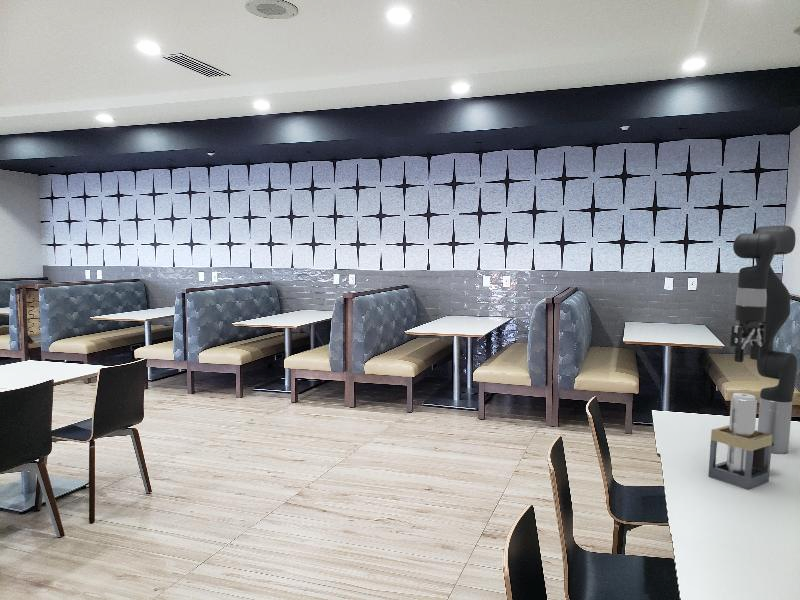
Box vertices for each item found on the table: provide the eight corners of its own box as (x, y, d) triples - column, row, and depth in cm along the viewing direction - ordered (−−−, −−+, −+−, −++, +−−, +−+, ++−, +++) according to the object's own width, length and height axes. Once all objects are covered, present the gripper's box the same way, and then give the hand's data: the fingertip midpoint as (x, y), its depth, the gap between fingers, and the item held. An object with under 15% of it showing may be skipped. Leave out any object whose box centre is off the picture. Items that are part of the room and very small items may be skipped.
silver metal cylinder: (754, 484, 175) (761, 398, 172) (729, 482, 176) (736, 396, 174) (746, 476, 181) (752, 392, 179) (722, 473, 182) (728, 391, 180)
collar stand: (729, 469, 186) (732, 424, 185) (768, 481, 177) (772, 434, 175) (708, 476, 180) (711, 429, 179) (747, 489, 170) (751, 440, 169)
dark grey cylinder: (775, 470, 186) (777, 438, 185) (768, 477, 180) (771, 444, 179) (745, 463, 192) (747, 432, 191) (738, 470, 186) (740, 437, 185)
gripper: (750, 302, 181) (746, 356, 182) (724, 303, 173) (720, 360, 174) (777, 304, 175) (773, 360, 176) (751, 306, 167) (746, 365, 168)
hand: (746, 360), depth 175 cm, fingers open, 8 cm apart
